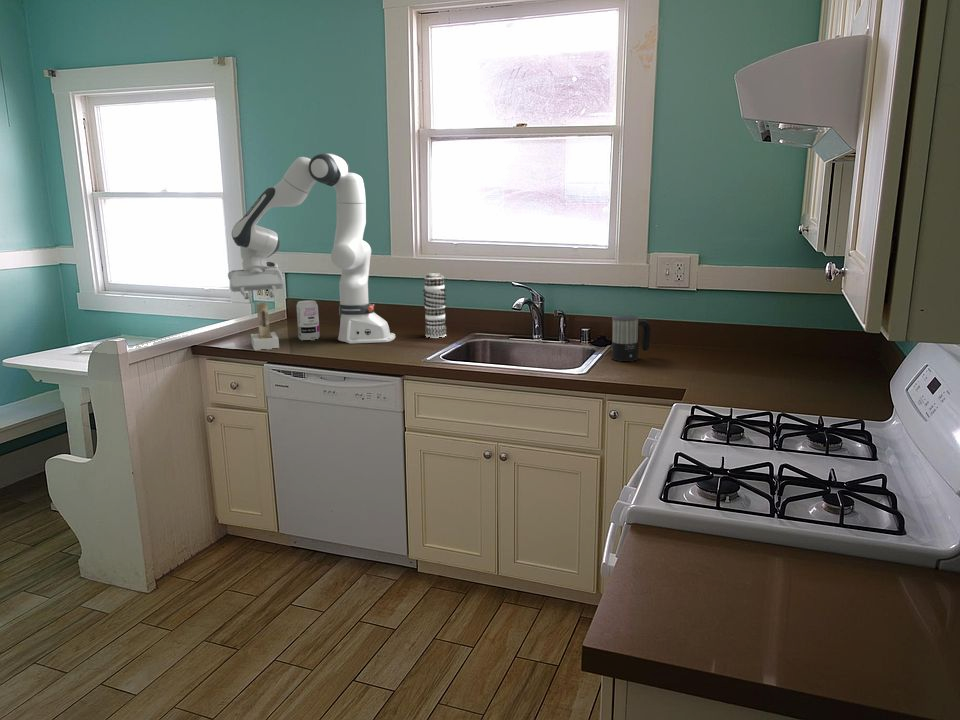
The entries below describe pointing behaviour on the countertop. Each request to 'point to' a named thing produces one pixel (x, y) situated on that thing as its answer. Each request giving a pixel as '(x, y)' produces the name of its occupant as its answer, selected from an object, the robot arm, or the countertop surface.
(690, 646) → the countertop surface
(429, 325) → the decorative candle
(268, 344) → the white rectangular tray
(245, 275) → the robot arm
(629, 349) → the milk frother
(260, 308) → the beige wooden block
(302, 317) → the supplement can
